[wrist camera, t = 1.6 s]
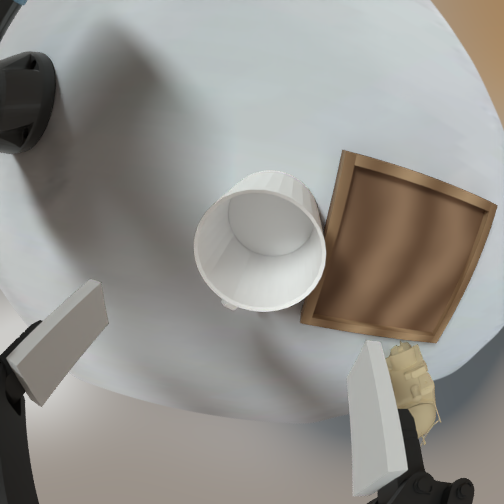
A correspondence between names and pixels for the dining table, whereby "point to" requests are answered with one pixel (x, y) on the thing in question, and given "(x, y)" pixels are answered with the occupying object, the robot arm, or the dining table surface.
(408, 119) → the dining table surface
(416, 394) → the robot
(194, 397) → the dining table surface
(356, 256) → the tray
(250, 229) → the mug
